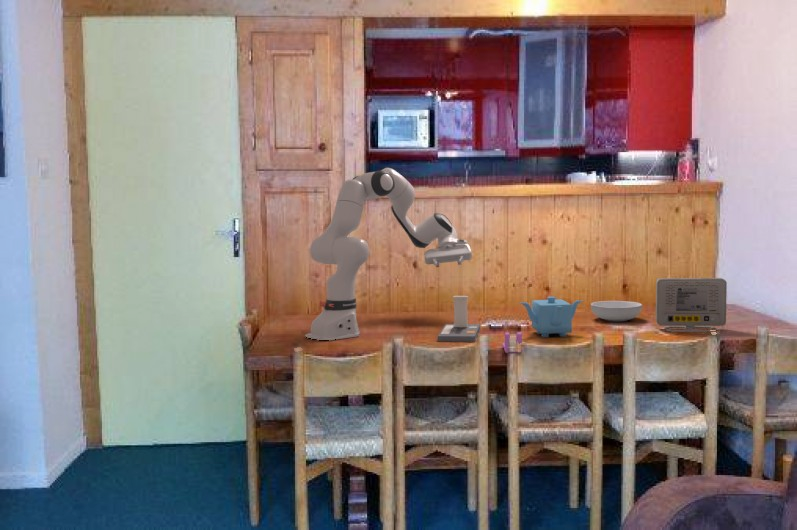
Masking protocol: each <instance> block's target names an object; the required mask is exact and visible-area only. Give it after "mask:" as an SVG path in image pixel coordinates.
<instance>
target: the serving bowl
mask: <svg viewBox="0 0 797 530" xmlns="http://www.w3.org/2000/svg"><path fill="white" fill-rule="evenodd" d="M590 308H591V312H592V313H593V315H594V316H596V317H597V318H600V319H602V320H605V321H607V322H614V323H615V322H617V323H618V322H620V323H621V322H627V321H628V320H633V319H635V318H636V317H638V316H639V315H640V314H641V311H642V309H643V304H642V303H640V302H636V301H628V300H627V301H625V300H624V301H623V300H604V301H603V300H602V301H594V302H591V303H590Z"/></svg>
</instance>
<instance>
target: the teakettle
mask: <svg viewBox="0 0 797 530" xmlns="http://www.w3.org/2000/svg"><path fill="white" fill-rule="evenodd" d="M546 298H547V299H535V300H531V305H530V303H528V302H520V304H521V305H523V306H524V307H525V309H526V312H527V316H528V319H530V321H531V324H532V329H534V331H536V334H537V335H541V336H540V337H541V338H549V337H550V334H558V335H559V337H561V338H562V337H563V338H565V337H566V338H567V337H568V335H567V334H572V332H573V331H572V329H573V328H572V326H573V322H572V321H573V319H574V317H575V314H576V310H577V308H578V305H579V304H581V302H584V300H581V299H580V300H575V301H573V303H572V304H571V303H569V302H568V301H566V300H563V299H557V297H555V296H547V297H546Z"/></svg>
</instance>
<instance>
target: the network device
mask: <svg viewBox="0 0 797 530" xmlns="http://www.w3.org/2000/svg"><path fill="white" fill-rule="evenodd" d="M727 284H728V282H727V281H726V279H725V278H722V277H668V278H667V277H663V278H662V277H660V278H659V277H658V278H657V279H656V281H655V322H656V323H657V324H658V326H660V327H661V326H662V327H664V330H665V331H667V332H671V333H672V332H677V333H678V332H680V333H681V332H683V333H687V332H689V333H690V332H691V333H695V332H696V333H700V332H701V333H702V332H703V333H708V332H707V331H710V330H717V331H718V329H717V328H716V327H723V326H725V325H726V323H727V294H728V293H727V287H728V286H727Z"/></svg>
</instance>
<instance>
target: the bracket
mask: <svg viewBox="0 0 797 530" xmlns="http://www.w3.org/2000/svg"><path fill="white" fill-rule="evenodd" d="M522 335H523V334H522V332H521V331H519V332H518V331H517V332H516V335H515V336H516V342H517V341H518V343H519V344H520V343H522V344H523V336H522ZM509 338H510V332H504V342H502V348H504V349H503V351H504V353H506V354H509V353H508V347H509V346H508V345H509ZM510 339H511V338H510Z"/></svg>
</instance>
